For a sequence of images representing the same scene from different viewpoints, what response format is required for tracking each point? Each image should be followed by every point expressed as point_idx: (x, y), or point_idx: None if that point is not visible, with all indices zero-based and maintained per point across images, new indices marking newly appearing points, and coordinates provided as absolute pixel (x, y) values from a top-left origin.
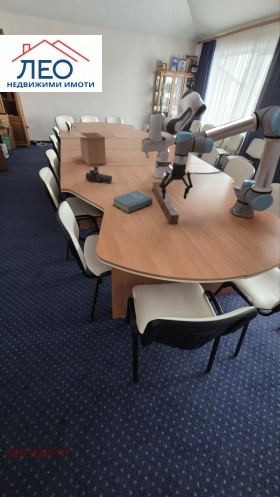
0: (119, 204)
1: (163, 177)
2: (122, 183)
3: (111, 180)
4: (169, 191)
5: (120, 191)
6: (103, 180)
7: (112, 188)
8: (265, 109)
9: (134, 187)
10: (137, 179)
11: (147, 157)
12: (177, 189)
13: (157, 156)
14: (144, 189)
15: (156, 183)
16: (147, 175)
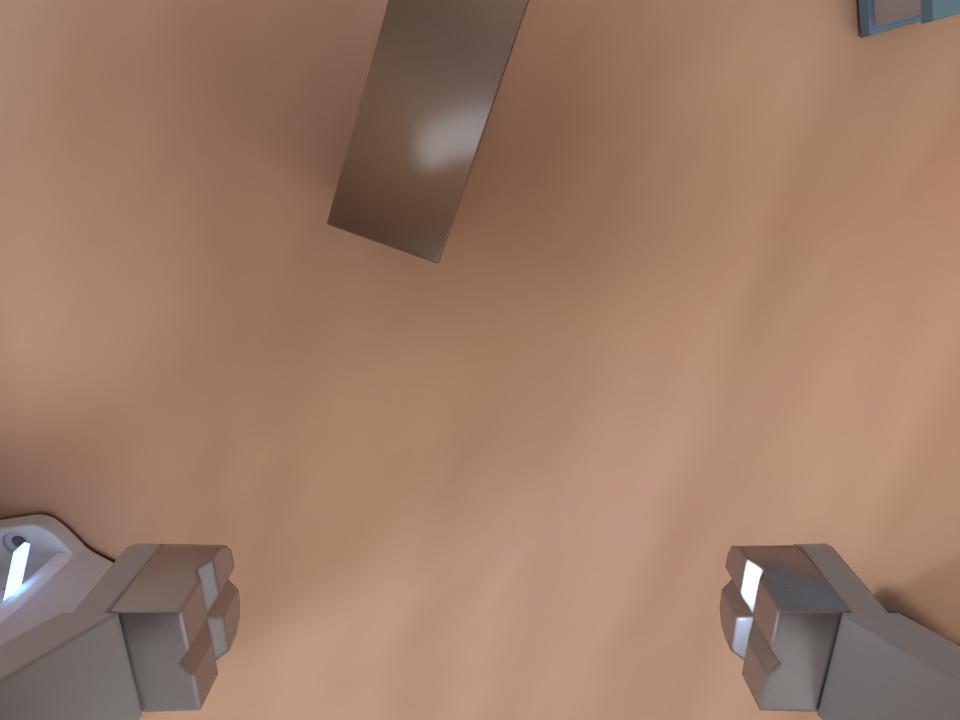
0: None
1: (60, 553)
2: None
3: None
4: (202, 53)
5: (922, 329)
6: None
7: (949, 455)
8: None
9: (656, 392)
10: (458, 622)
11: (820, 551)
12: (15, 82)
13: (215, 580)
14: (561, 278)
15: (409, 175)
16: (251, 701)
